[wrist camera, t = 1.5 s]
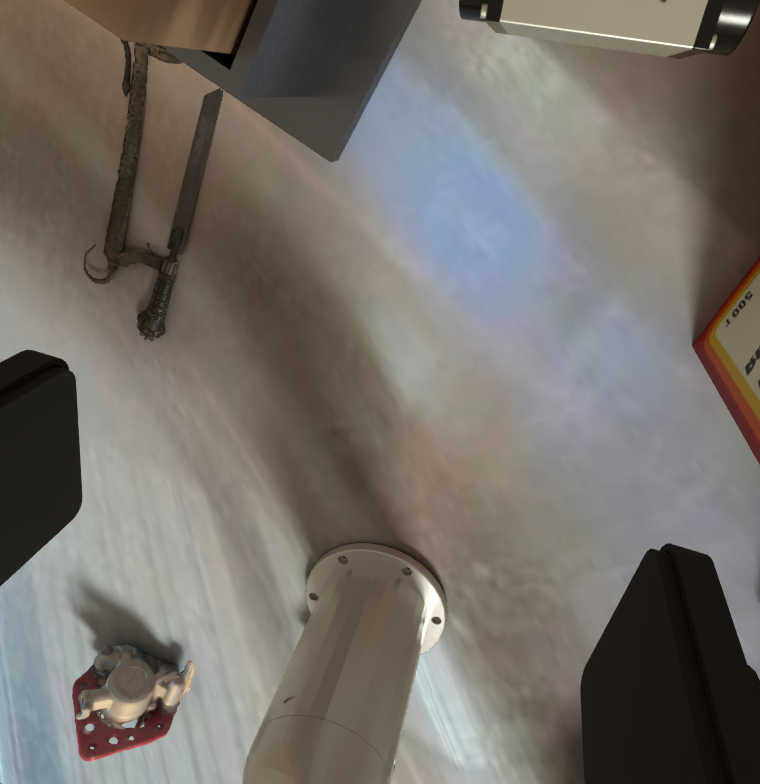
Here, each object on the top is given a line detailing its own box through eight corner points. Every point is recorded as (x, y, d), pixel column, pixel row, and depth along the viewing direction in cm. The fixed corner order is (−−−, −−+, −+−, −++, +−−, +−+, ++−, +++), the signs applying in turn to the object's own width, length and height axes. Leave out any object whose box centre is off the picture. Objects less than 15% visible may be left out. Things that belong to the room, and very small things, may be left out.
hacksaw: (165, 343, 50) (155, 349, 48) (51, 286, 50) (37, 292, 49) (248, 15, 38) (237, 12, 37) (99, -56, 38) (83, -61, 37)
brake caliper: (79, 696, 69) (28, 738, 58) (128, 609, 71) (88, 633, 59) (166, 742, 69) (131, 793, 58) (213, 653, 70) (188, 686, 59)
